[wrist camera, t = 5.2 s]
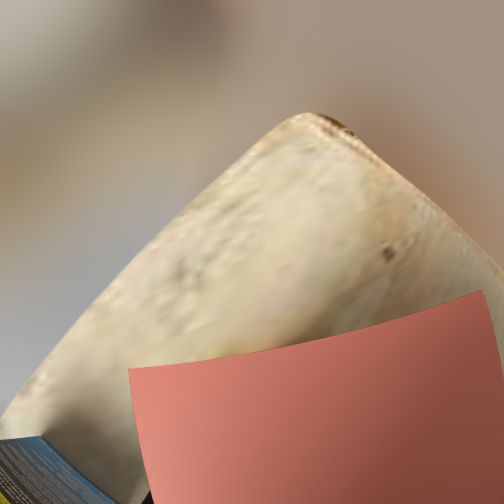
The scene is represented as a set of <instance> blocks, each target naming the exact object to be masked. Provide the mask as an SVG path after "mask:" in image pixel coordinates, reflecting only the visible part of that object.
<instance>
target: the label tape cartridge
mask: <svg viewBox="0 0 504 504" xmlns="http://www.w3.org/2000/svg"><path fill="white" fill-rule="evenodd" d="M0 504H117V503H116V502H115V501H113V500H112V499H110V498H109V497H108V496H107V495H105V494H104V493H103V492H101V491H100V490H99V489H98V488H96V487H95V486H94V485H93V484H91V483H90V482H89V481H88V480H87V479H85V478H84V477H83V476H82V475H81V474H80V473H78V472H77V471H76V470H75V469H74V468H73V467H72V466H71V465H69V464H68V463H67V462H66V461H65V460H64V459H63V458H62V457H61V456H60V455H59V454H58V453H57V452H56V451H55V450H54V449H53V448H52V447H51V446H50V445H49V444H48V443H47V442H46V441H45V440H44V439H43V438H42V437H41V436H35V437H26V438H17V439H6V440H0Z"/></svg>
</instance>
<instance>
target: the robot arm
mask: <svg viewBox="0 0 504 504" xmlns="http://www.w3.org/2000/svg"><path fill="white" fill-rule="evenodd" d="M141 504H154V501H153V498H152V494H151V490H150V491H149V492H148V494H147V496H146V497H145V499H144V500H143V502H142V503H141Z"/></svg>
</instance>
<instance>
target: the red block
mask: <svg viewBox="0 0 504 504" xmlns="http://www.w3.org/2000/svg"><path fill="white" fill-rule="evenodd" d="M128 372H129V380H130V388H131V395H132V402H133V409H134V415H135V421H136V426H137V432H138V437H139V442H140V447H141V452H142V457H143V461H144V466H145V470H146V474H147V478H148V482H149V486H150V490H151V494H152V498H153V501H154V504H504V380H503V374H502V368H501V363H500V357H499V352H498V348H497V343H496V339H495V335H494V330H493V326H492V323H491V319H490V315H489V311H488V308H487V305H486V301H485V298H484V295H483V291H482V290H479V291H476V292H474V293H471V294H468V295H466V296H463V297H460V298H458V299H455V300H452V301H449V302H446V303H443V304H441V305H438V306H435V307H432V308H429V309H426V310H423V311H420V312H416V313H413V314H410V315H407V316H404V317H400V318H397V319H394V320H390V321H387V322H383V323H380V324H376V325H373V326H369V327H366V328H362V329H358V330H354V331H350V332H347V333H343V334H339V335H335V336H331V337H326V338H322V339H318V340H313V341H309V342H305V343H300V344H295V345H291V346H286V347H281V348H276V349H271V350H266V351H260V352H255V353H249V354H243V355H237V356H231V357H225V358H219V359H212V360H205V361H198V362H190V363H183V364H174V365H166V366H156V367H146V368H135V369H128Z"/></svg>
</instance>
